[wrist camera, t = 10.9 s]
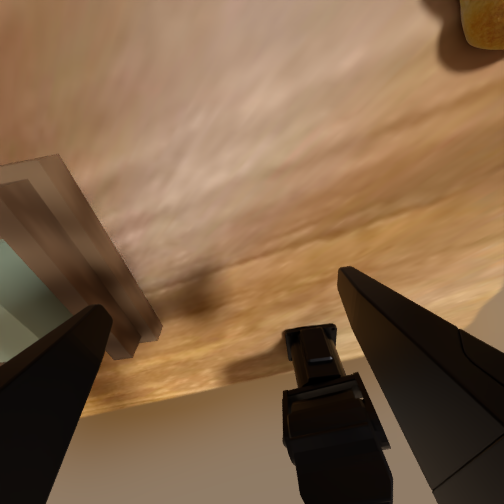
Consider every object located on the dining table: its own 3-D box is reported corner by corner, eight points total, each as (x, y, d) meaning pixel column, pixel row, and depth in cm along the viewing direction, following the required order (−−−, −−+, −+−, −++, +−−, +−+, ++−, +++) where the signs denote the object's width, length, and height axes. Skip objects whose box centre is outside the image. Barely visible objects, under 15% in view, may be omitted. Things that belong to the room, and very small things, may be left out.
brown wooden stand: (162, 326, 27) (150, 361, 24) (28, 345, 28) (-5, 381, 25) (58, 154, 16) (3, 168, 13) (-154, 196, 17) (-263, 220, 14)
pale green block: (84, 318, 23) (57, 354, 20) (31, 326, 24) (-4, 363, 20) (11, 237, 18) (-42, 268, 14) (-56, 249, 18) (-123, 281, 15)
